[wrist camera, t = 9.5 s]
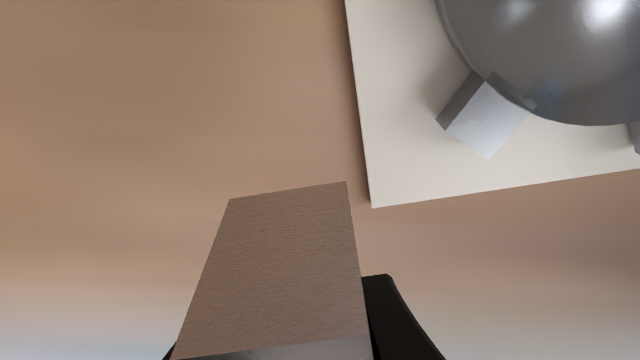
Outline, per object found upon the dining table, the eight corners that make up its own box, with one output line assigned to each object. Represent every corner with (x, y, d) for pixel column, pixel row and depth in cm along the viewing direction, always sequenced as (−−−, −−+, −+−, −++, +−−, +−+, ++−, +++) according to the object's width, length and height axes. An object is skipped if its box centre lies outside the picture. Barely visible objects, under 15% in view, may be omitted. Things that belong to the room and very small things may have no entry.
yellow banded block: (370, 326, 13) (401, 523, 8) (270, 340, 13) (246, 538, 8) (347, 180, 11) (373, 338, 6) (227, 199, 11) (164, 365, 6)
